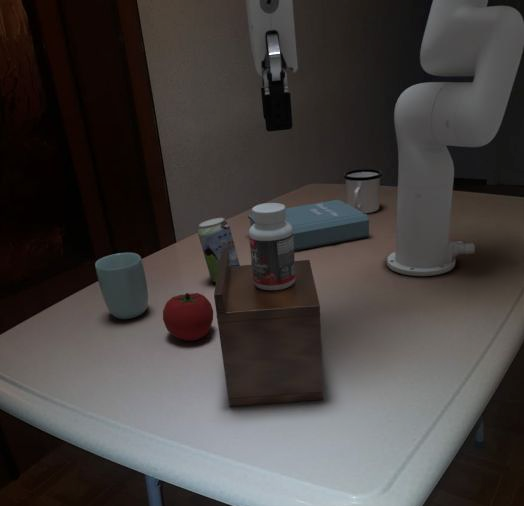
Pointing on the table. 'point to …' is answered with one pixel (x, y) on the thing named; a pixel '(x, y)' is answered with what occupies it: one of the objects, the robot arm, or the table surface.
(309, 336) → the wooden box
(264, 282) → the pill bottle
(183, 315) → the tomato
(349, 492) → the table surface
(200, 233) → the beverage can
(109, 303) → the cup
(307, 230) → the book
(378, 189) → the mug
